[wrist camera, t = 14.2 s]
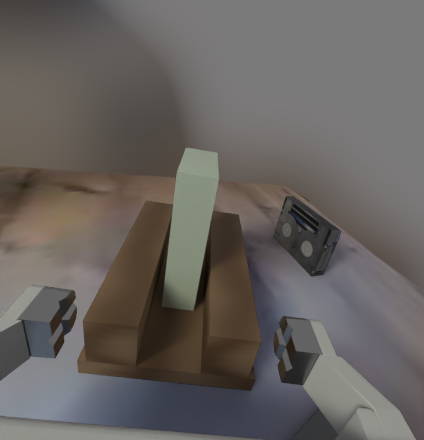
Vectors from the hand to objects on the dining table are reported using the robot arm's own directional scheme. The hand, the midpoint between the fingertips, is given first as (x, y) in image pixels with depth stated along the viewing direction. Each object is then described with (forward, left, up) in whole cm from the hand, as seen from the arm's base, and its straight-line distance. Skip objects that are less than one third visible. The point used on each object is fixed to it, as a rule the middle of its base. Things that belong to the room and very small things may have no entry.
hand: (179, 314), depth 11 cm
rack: (-9, +7, -9) cm, 14 cm away
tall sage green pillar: (-9, +7, -8) cm, 13 cm away
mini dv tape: (-8, +23, -9) cm, 26 cm away
